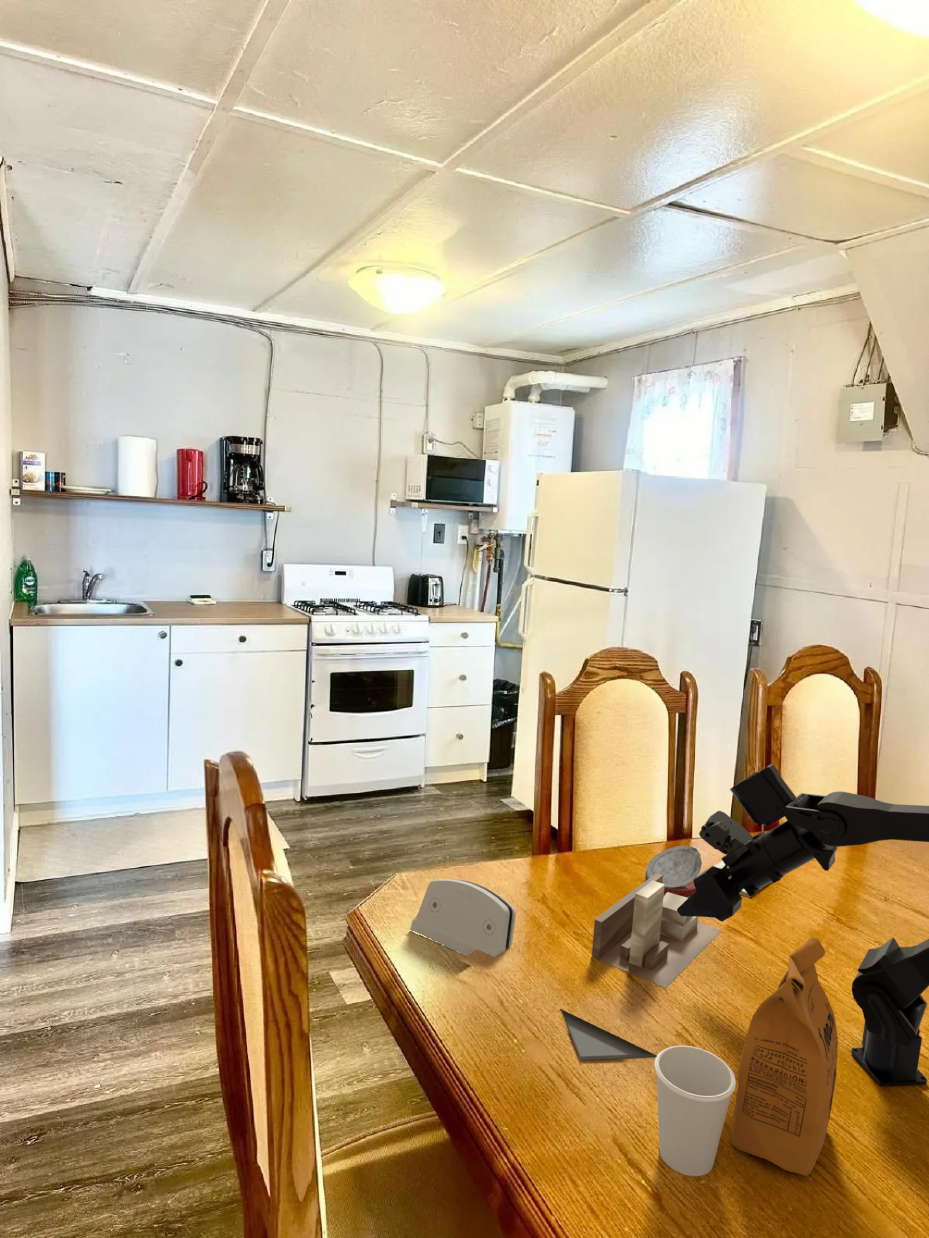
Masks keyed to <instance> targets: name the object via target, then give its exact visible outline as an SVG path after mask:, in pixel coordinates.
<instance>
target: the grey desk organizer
mask: <svg viewBox="0 0 929 1238" xmlns="http://www.w3.org/2000/svg"><path fill="white" fill-rule="evenodd" d="M652 880H653V881H656V882H659V883H662V881H663V875H661V874H659V873H656V874H654V875H653V876H652V877H650V878H649V879H648V880H646V881H645V880H644V882H642V883H641V884H640V885H639V886H637V887H636V888H634V889H633V890H632V891H630V892H629V893H628V894H627V895H625V896H624V897H622V898H621V899H620V900H618V901H617V902H616V903H615V904H613V905H611V906H610V907H609V908H608V909H606V910H605V911H604V912H603V913H601V914H600V915H599V916H596V918H594V921H593V922H594V924H593V925H594V926H593V934H592V935H593V936H592V937H593V938H592V947H591V958H594V959H595V960H598V961H600V962H603V963H605V964H608V965H610V966H612V967H615V968H617V969H618V970H622V971H623V972H626V973H629V974H631V975H633V976H635V977H639V978H641V979H642V980H645V981H648V982H650V983H652V984H654V985H657V986H659V987H660V988H663V989H667V988H668V987H669V986H670V985H671V984H672V983H673V982H674V981H675V980H676V979H677V977H679V975H681V973H683V972H684V971H685V969H686V968H687V967H688V966H689V965H690V964H691V963H692V961H694V960H695V959H696V958H697V957H698V956H699V955H700V953H701V952H702V951H704V949H705V948H707V947H708V945H710V943H711V942H712V941H714V939H715V938H717V936H718V935H719V934H720V933H721V932H722V930H721V929H719V928H715V927H712V926H711V925H708V924H704V923H702V922H699V921H698V924H697V928H696V929H695V930H694V931H693V932H692V933H691V934H690V935H689V936H688V937H687V938H686V939H685V940H683V941H682V942H680V941H677V940H674V939H672V938H669V937H667V936H664V935H662V934H660V939H659V944H657V945H656V946H655V947H654V948H653V949H652V950H651V951H650V952H649V953H648V954H647V955H646V956H645V964H644V965H643V966H642V967H639V966H636V965H634V964H632V963H629V957H630V946H631V935H632V924H633V913H634V902H635V893H637V892H638V891H639V890H640V889H642V888H643V887H644V886H646V885H647V884H648V883H650V882H651V881H652Z"/></svg>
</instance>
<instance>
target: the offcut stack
mask: <svg viewBox="0 0 929 1238" xmlns="http://www.w3.org/2000/svg"><path fill="white" fill-rule="evenodd" d="M688 898H689V897H683V896H679V895H676V894H672V893H669V892H667V893H666V894H664V897H663V907H662V918H661V928H660V934H662V935H664V936H667V937H669V938H672V939H674V940H677V941H680V942H682V941H683V940H685V939H686V938H687V937H688V936H689V935H690V934H691V933H692V932H693V931H694V930H695V929H696V928H697V924H698V922H699V917H692V916H680V914H679V913H678V911H677V908H678V907H680V906H681V905H682V904H683V903H684V902H685V901H686V900H687V899H688Z"/></svg>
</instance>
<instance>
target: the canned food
mask: <svg viewBox="0 0 929 1238" xmlns="http://www.w3.org/2000/svg"><path fill="white" fill-rule="evenodd" d="M701 857H702V856H701V852H699V850H698V849H697V848H696V847H694V846H691V845H689V844H688V845H676V846H673V847H669V848H667V849H664V850H662V851H661V852H660V853H659V852H658V853H657V854H655V855H654V856H653V858H651V860H649V862H648V863H647V867H646V871H645V876H644V882H645V881H646V880H648V879H649V878H650V877H652V876H653V875H654V874H656V873H659V874H661V875H663V881H662V884H665V887H664V895H666V893H667V892H669V893H672V894H676V895H679V896H683V897H686V898H688V897H690V896H691V895H692V894H693V893H694V892H695V886H694V881H693V880H694V879H695V878H696V877H697V876H698V875H700V874H701V873H700V872H701V870H702V864H703V861H702V858H701Z"/></svg>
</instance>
